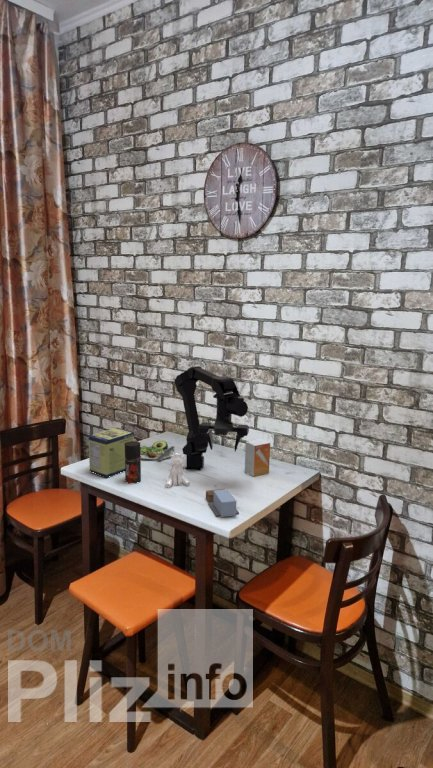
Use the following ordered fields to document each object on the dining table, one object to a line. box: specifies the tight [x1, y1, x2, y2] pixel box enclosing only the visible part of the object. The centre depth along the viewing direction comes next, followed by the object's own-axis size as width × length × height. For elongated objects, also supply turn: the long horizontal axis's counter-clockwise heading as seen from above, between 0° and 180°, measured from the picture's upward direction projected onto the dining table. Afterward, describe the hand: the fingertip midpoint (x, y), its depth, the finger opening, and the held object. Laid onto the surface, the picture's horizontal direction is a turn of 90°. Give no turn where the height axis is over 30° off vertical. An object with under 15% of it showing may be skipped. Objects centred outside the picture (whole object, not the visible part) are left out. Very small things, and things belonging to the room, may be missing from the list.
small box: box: [244, 438, 271, 477], centre depth 212 cm, size 8×6×13 cm
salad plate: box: [140, 440, 175, 462], centre depth 232 cm, size 19×18×5 cm
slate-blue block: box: [213, 488, 237, 518], centre depth 177 cm, size 5×5×10 cm
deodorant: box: [124, 440, 142, 484], centre depth 201 cm, size 6×6×15 cm
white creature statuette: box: [164, 452, 191, 489], centre depth 200 cm, size 10×9×12 cm
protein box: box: [88, 427, 135, 478], centre depth 212 cm, size 10×16×16 cm
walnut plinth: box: [205, 488, 226, 504], centre depth 186 cm, size 4×7×3 cm, turn 106°
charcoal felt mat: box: [207, 502, 240, 518], centre depth 179 cm, size 10×8×1 cm
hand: (223, 450), depth 201 cm, fingers open, 9 cm apart
